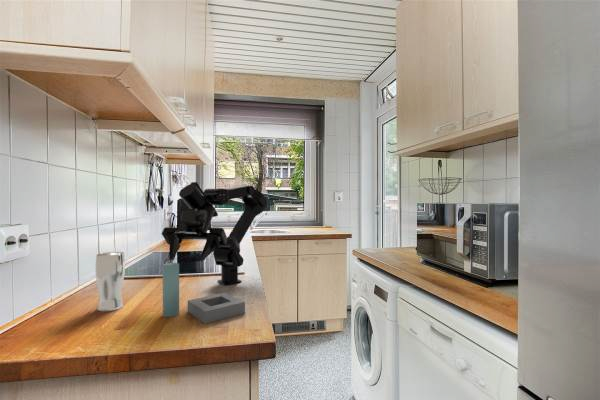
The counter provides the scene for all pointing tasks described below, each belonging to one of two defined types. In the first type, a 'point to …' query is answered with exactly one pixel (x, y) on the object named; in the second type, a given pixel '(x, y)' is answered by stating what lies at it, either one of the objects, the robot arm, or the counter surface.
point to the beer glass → (110, 280)
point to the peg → (170, 289)
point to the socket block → (216, 307)
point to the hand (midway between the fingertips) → (185, 259)
